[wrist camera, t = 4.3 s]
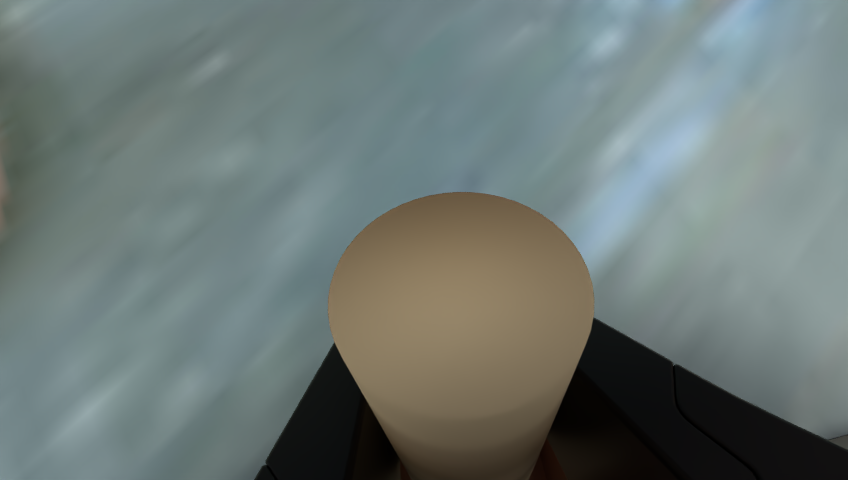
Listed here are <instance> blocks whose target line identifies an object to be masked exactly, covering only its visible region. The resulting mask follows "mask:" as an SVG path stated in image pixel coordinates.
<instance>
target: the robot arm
mask: <svg viewBox="0 0 848 480" xmlns="http://www.w3.org/2000/svg"><path fill="white" fill-rule="evenodd" d="M547 439H548V441H549V443H550V445H551V447H552V449H553V451H554V453H555V455H556V457H557V459H558V461H559V463H560V465H561V467H562V469H563V471H564V473H565V475H566V477H567V479H568V480H848V450H847V449H845V448H843V447H841V446H839V445H837V444H835V443H832V442H830V441H828V440H826V439H824V438H822V437H820V436H818V435H815V434H813V433H811V432H809V431H807V430H805V429H803V428H801V427H798V426H796V425H794V424H792V423H790V422H788V421H786V420H784V419H781V418H779V417H777V416H775V415H773V414H771V413H769V412H767V411H765V410H763V409H761V408H759V407H757V406H755V405H753V404H751V403H749V402H747V401H745V400H743V399H741V398H739V397H737V396H735V395H733V394H731V393H729V392H727V391H725V390H724V389H722V388H720V387H718V386H716V385H714V384H712V383H711V382H709V381H707V380H705V379H703V378H701V377H699V376H698V375H696V374H694V373H692V372H691V371H689V370H687V369H685V368H683V367H682V366H680V365H678V364H675V365H674V366H673V362H672V361H671V360H669V359H667V358H665V357H664V356H662V355H660V354H658V353H656V352H655V351H653V350H651V349H649V348H648V347H646V346H644V345H642V344H640V343H639V342H637V341H635V340H633V339H632V338H630V337H628V336H626V335H624V334H623V333H621V332H619V331H617V330H616V329H614V328H612V327H610V326H608V325H607V324H605V323H603V322H601V321H600V320H598V319H596V318H594V317H593V322H592V327H591V331H590V334H589V337H588V340H587V342H586V345H585V348H584V350H583V352H582V355H581V357H580V359H579V362H578V364H577V367H576V369H575V371H574V374H573V376H572V378H571V381H570V383H569V385H568V388H567V390H566V393H565V395H564V397H563V400H562V402H561V404H560V407H559V409H558V412H557V414H556V416H555V419H554V421H553V423H552V426H551V428H550V431H549V433H548V435H547ZM254 480H401V479H400V458H399V457H398V455H397V453H396V451H395V450H394V448H393V446H392V444H391V443H390V441H389V439H388V437H387V436H386V434H385V432H384V430H383V429H382V427H381V425H380V423H379V421H378V420H377V418H376V416H375V414H374V413H373V411H372V409H371V407H370V406H369V404H368V402H367V400H366V399H365V397H364V395H363V393H362V392H361V390H360V388H359V386H358V385H357V383H356V381H355V379H354V378H353V376H352V374H351V372H350V371H349V369H348V367H347V365H346V364H345V362H344V360H343V358H342V356H341V354H340V352H339V350H338V348H337V346H336V344H335V342H334V344H333V346H332V347H331V349H330V351H329V352H328V354H327V356H326V358H325V359H324V361H323V363H322V364H321V366H320V368H319V370H318V371H317V373H316V375H315V377H314V378H313V380H312V382H311V383H310V385H309V387H308V389H307V390H306V392H305V394H304V395H303V397H302V399H301V401H300V402H299V404H298V406H297V408H296V409H295V411H294V413H293V414H292V416H291V418H290V420H289V421H288V423H287V425H286V426H285V428H284V430H283V432H282V433H281V435H280V437H279V439H278V440H277V442H276V444H275V445H274V447H273V449H272V451H271V452H270V454H269V456H268V457H267V459H266V465H263V466H262V467H261V469H260V471H259V473H258V474H257V476H256V478H255V479H254Z"/></svg>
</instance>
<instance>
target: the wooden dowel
mask: <svg viewBox="0 0 848 480" xmlns="http://www.w3.org/2000/svg"><path fill="white" fill-rule="evenodd" d="M328 316H329V323H330V329H331V332H332V335H333V339H334V342H335V344H336V346H337V348H338V350H339V352H340V354H341V356H342V358H343V360H344V362H345V364H346V365H347V367H348V369H349V371H350V372H351V374H352V376H353V378H354V379H355V381H356V383H357V385H358V386H359V388H360V390H361V392H362V393H363V395H364V397H365V399H366V400H367V402H368V404H369V406H370V407H371V409H372V411H373V413H374V414H375V416H376V418H377V420H378V421H379V423H380V425H381V427H382V429H383V430H384V432H385V434H386V436H387V437H388V439H389V441H390V443H391V444H392V446H393V448H394V450H395V451H396V453H397V455H398V457H399V458H400V460H401V462H402V464H403V465H404V467H405V469H406V471H407V472H408V474H409V476H410V478H411V479H412V480H529V478H530V476H531V473H532V471H533V468H534V466H535V464H536V461H537V459H538V457H539V454H540V452H541V449H542V447H543V445H544V442H545V440H546V438H547V435H548V433H549V431H550V428H551V426H552V423H553V421H554V419H555V416H556V414H557V412H558V409H559V407H560V404H561V402H562V400H563V397H564V395H565V393H566V390H567V388H568V385H569V383H570V381H571V378H572V376H573V374H574V371H575V369H576V367H577V364H578V362H579V359H580V357H581V355H582V352H583V350H584V348H585V345H586V342H587V340H588V337H589V334H590V331H591V327H592V322H593V316H594V293H593V286H592V281H591V278H590V275H589V272H588V269H587V266H586V264H585V262H584V260H583V258H582V256H581V254H580V253H579V251H578V250H577V248H576V247H575V245H574V244H573V242H572V241H571V240H570V239H569V238H568V237H567V235H566V234H565V233H564V232H563V231H562V230H561V229H560V228H558V227H557V226H556V225H555V224H554V223H553V222H552V221H550V220H549V219H547V218H546V217H544V216H543V215H542V214H540V213H538V212H536V211H535V210H533V209H531V208H529V207H527V206H525V205H523V204H520V203H518V202H515V201H512V200H509V199H506V198H503V197H499V196H494V195H489V194H482V193H473V192H453V193H442V194H436V195H430V196H426V197H422V198H419V199H415V200H412V201H410V202H407V203H404V204H402V205H400V206H398V207H396V208H394V209H392V210H390V211H388V212H386V213H385V214H383V215H381V216H380V217H378V218H377V219H375V220H374V221H373V222H372V223H370V224H369V225H368V226H366V227H365V228H364V229H363V230H362V231H361V232H360V233H359V234H358V235H357V236H356V237H355V239H354V240H353V241H352V242H351V244H350V245H349V246H348V247H347V249H346V250H345V252H344V254H343V255H342V257H341V258H340V260H339V263H338V265H337V267H336V269H335V271H334V275H333V278H332V281H331V284H330V290H329V297H328Z"/></svg>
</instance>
